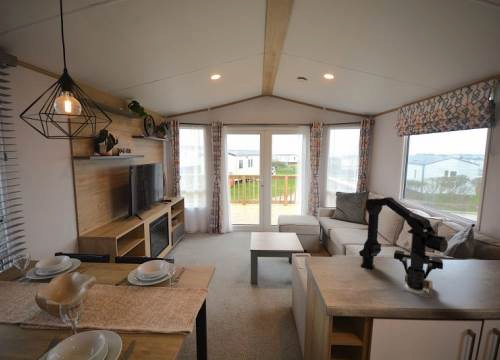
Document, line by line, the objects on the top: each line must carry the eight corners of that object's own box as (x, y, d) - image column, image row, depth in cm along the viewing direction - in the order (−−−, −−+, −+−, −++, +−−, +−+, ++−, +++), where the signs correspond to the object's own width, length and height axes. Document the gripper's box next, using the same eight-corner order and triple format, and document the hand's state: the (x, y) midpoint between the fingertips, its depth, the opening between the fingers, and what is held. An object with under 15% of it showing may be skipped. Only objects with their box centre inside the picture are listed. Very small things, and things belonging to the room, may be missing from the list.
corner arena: (404, 280, 123) (405, 274, 123) (431, 288, 116) (432, 281, 116) (403, 290, 114) (403, 283, 114) (432, 298, 108) (433, 291, 107)
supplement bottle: (405, 281, 120) (407, 258, 118) (421, 284, 117) (424, 261, 115) (407, 288, 113) (409, 263, 112) (425, 292, 110) (427, 267, 109)
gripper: (393, 245, 112) (391, 277, 113) (445, 255, 101) (441, 290, 103) (396, 238, 121) (393, 268, 122) (443, 247, 110) (440, 279, 112)
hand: (415, 276), depth 114 cm, fingers closed on supplement bottle, 7 cm apart
